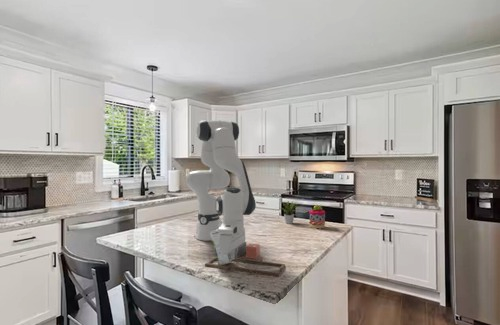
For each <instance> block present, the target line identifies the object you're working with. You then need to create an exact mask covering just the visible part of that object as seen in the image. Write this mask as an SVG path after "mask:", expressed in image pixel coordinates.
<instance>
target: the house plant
mask: <svg viewBox="0 0 500 325" xmlns="http://www.w3.org/2000/svg"><path fill="white" fill-rule="evenodd" d="M293 202H294V201H292V202H291V203H290V201H289V200H287V201H286V202H284V203H283V202H282V206H283V207H284V208H283V207H282V208H280V209H281V210H283V212H285V213H284V214H283V215H284V221H285V225H286V224H287V225H292V224H294V218H295V214H294V212H296V211H298V209H297V208H299V207H300V206H298V205H297V203H296V202H294V203H293Z"/></svg>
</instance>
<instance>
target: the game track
mask: <svg viewBox="0 0 500 325" xmlns="http://www.w3.org/2000/svg"><path fill="white" fill-rule="evenodd" d="M216 261H217V258H216V255H215V256H214V257H213V258H211V259H209V260H208V261H206V262H205V263H204V266H205V267H211V268H216V269H223V270H225V272H229V271H237V272H244V273H248V275H249V276H252V274H255V275H256V274H257V275H265V276H271V277H276V278H278V277H279V276H280V275H281V273H283V271H284V268H286V263H278V262H271V261H270V262H268V261H264V259H259V260H254V259H247V258H243V257H242V256H240V257H237V258H235V259H234V260H233V261H232V262H241V263H248V264H257V265H263V266H264V265H265V266H272V267H279V268H278V270H277V271H276V272H273V271H266V270H259V269H253V268H246V267H245V268H244V267H238V266H233V265H232V266H231V265H226V264H223V265H218V263H217V264H216V263H214V262H216ZM282 270H283V271H282Z"/></svg>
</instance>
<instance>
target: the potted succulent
mask: <svg viewBox="0 0 500 325" xmlns="http://www.w3.org/2000/svg"><path fill="white" fill-rule="evenodd" d="M308 219H309V222H308V223H309V228H310V227H311V229H314V228H323V229H325V228H326V211H325V210H323V207H322V205H319V206H318V205H314V206H313V209H310V210H309V216H308ZM324 227H325V228H324Z"/></svg>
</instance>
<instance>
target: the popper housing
mask: <svg viewBox="0 0 500 325" xmlns="http://www.w3.org/2000/svg"><path fill="white" fill-rule="evenodd" d="M246 246H247V242H246V241H245V243H243V244H242V245H240V246H239V247H238V252H237V258H239V257H242V256H243V255H244V254H246Z"/></svg>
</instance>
